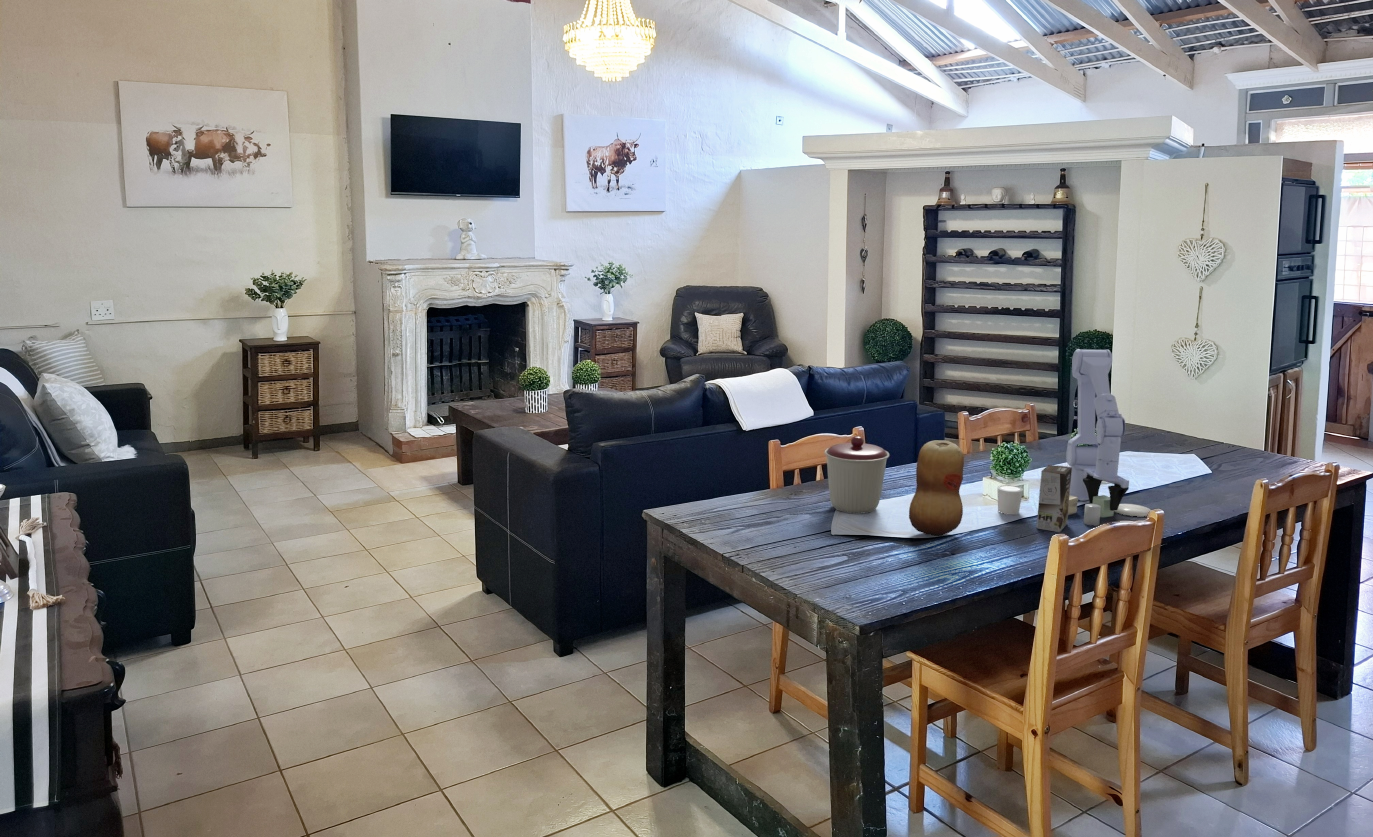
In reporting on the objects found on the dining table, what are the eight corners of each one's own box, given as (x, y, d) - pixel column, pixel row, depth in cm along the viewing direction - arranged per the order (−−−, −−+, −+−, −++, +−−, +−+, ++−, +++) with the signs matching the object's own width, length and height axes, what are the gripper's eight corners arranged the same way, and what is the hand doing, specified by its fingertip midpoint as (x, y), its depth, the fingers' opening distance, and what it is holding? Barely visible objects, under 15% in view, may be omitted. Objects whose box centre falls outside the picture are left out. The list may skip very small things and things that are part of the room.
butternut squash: (928, 545, 258) (934, 450, 253) (898, 530, 270) (902, 438, 265) (972, 539, 264) (979, 445, 258) (940, 524, 276) (946, 434, 270)
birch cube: (1053, 511, 288) (1054, 496, 287) (1062, 509, 291) (1063, 493, 290) (1067, 515, 285) (1068, 500, 284) (1076, 512, 287) (1077, 497, 287)
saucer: (1104, 508, 291) (1105, 506, 291) (1131, 504, 295) (1131, 502, 295) (1132, 518, 282) (1132, 515, 282) (1159, 514, 286) (1159, 511, 286)
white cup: (1008, 516, 283) (1010, 492, 281) (990, 510, 289) (992, 486, 287) (1026, 513, 286) (1028, 489, 285) (1008, 507, 292) (1010, 483, 290)
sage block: (1091, 513, 287) (1093, 496, 286) (1102, 512, 288) (1103, 495, 287) (1102, 517, 283) (1104, 500, 282) (1113, 516, 285) (1114, 498, 284)
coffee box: (1060, 532, 269) (1065, 474, 266) (1035, 528, 273) (1040, 470, 269) (1068, 524, 277) (1073, 466, 273) (1043, 520, 280) (1048, 463, 277)
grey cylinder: (1080, 522, 279) (1081, 504, 278) (1091, 520, 280) (1093, 503, 279) (1091, 526, 275) (1092, 508, 274) (1102, 524, 277) (1104, 507, 276)
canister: (898, 508, 290) (902, 436, 285) (863, 522, 277) (866, 447, 272) (845, 496, 302) (848, 426, 297) (809, 508, 289) (812, 436, 284)
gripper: (1077, 454, 287) (1073, 501, 290) (1117, 466, 274) (1112, 514, 277) (1096, 452, 290) (1092, 498, 293) (1136, 464, 277) (1131, 512, 280)
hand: (1103, 506), depth 285 cm, fingers open, 7 cm apart
